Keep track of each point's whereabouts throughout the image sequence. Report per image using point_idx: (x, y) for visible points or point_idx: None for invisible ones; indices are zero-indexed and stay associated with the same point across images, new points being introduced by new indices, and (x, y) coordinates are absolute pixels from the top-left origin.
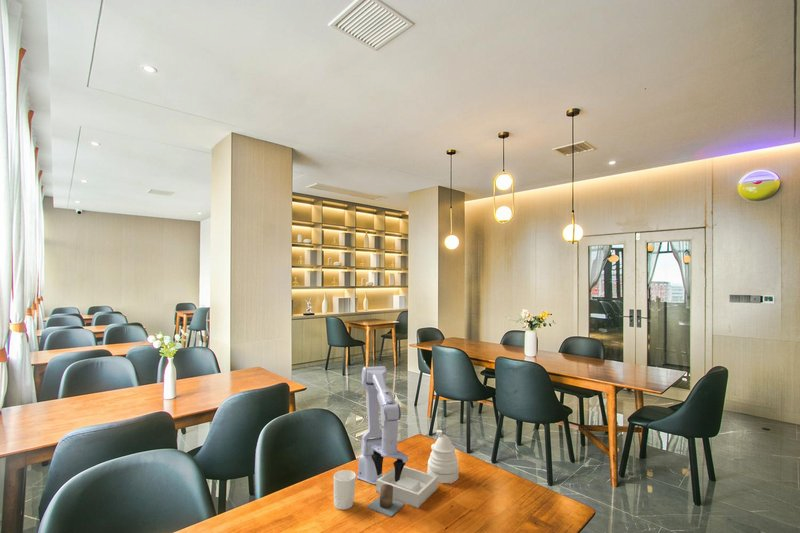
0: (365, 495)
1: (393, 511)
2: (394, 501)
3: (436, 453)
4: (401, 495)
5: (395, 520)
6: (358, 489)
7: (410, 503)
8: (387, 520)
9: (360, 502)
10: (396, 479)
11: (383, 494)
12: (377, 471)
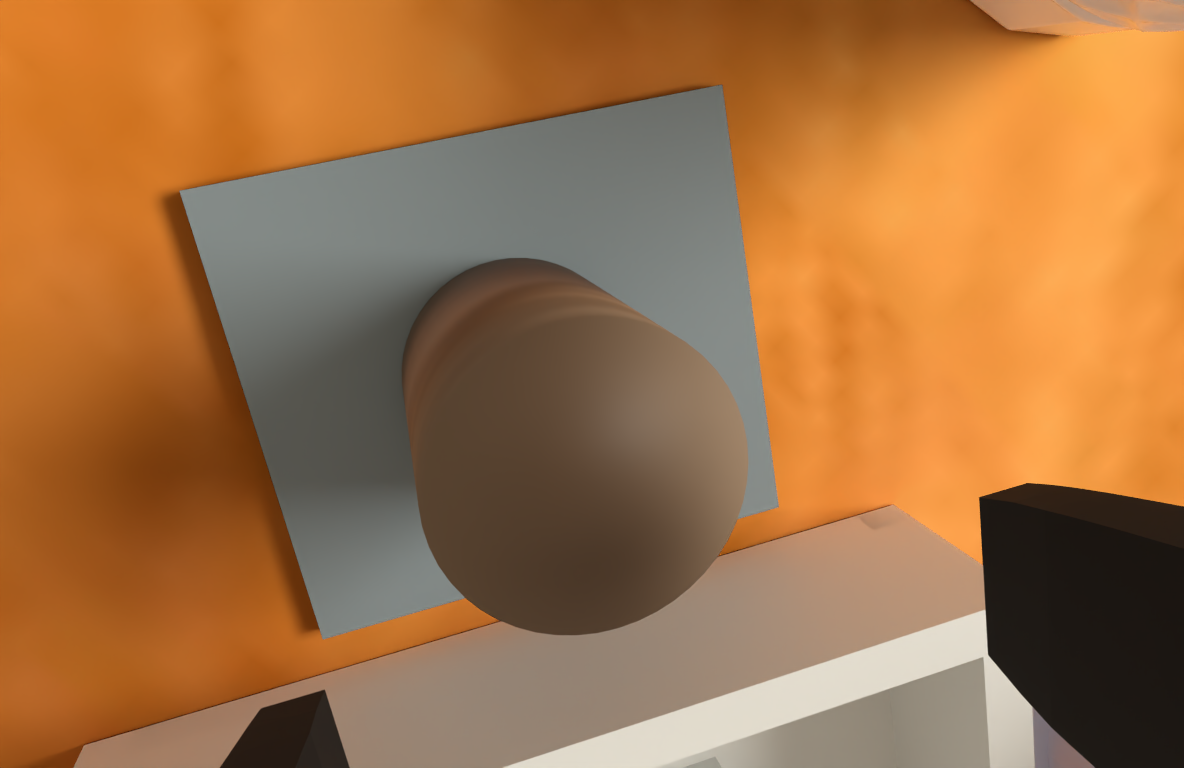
0: (960, 325)
1: (272, 335)
2: None
3: None
4: (435, 704)
5: (47, 184)
6: (1134, 355)
7: (239, 714)
8: (153, 69)
9: (894, 121)
10: (229, 757)
11: (524, 304)
12: (1112, 515)
